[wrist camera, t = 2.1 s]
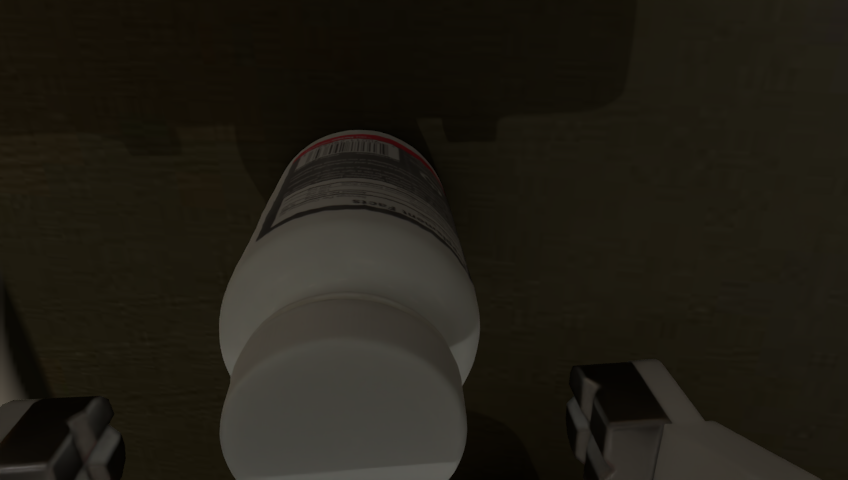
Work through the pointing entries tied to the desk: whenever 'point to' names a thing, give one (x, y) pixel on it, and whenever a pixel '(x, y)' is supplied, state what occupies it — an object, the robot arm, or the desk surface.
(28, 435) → the robot arm
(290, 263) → the pill bottle
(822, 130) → the desk surface
